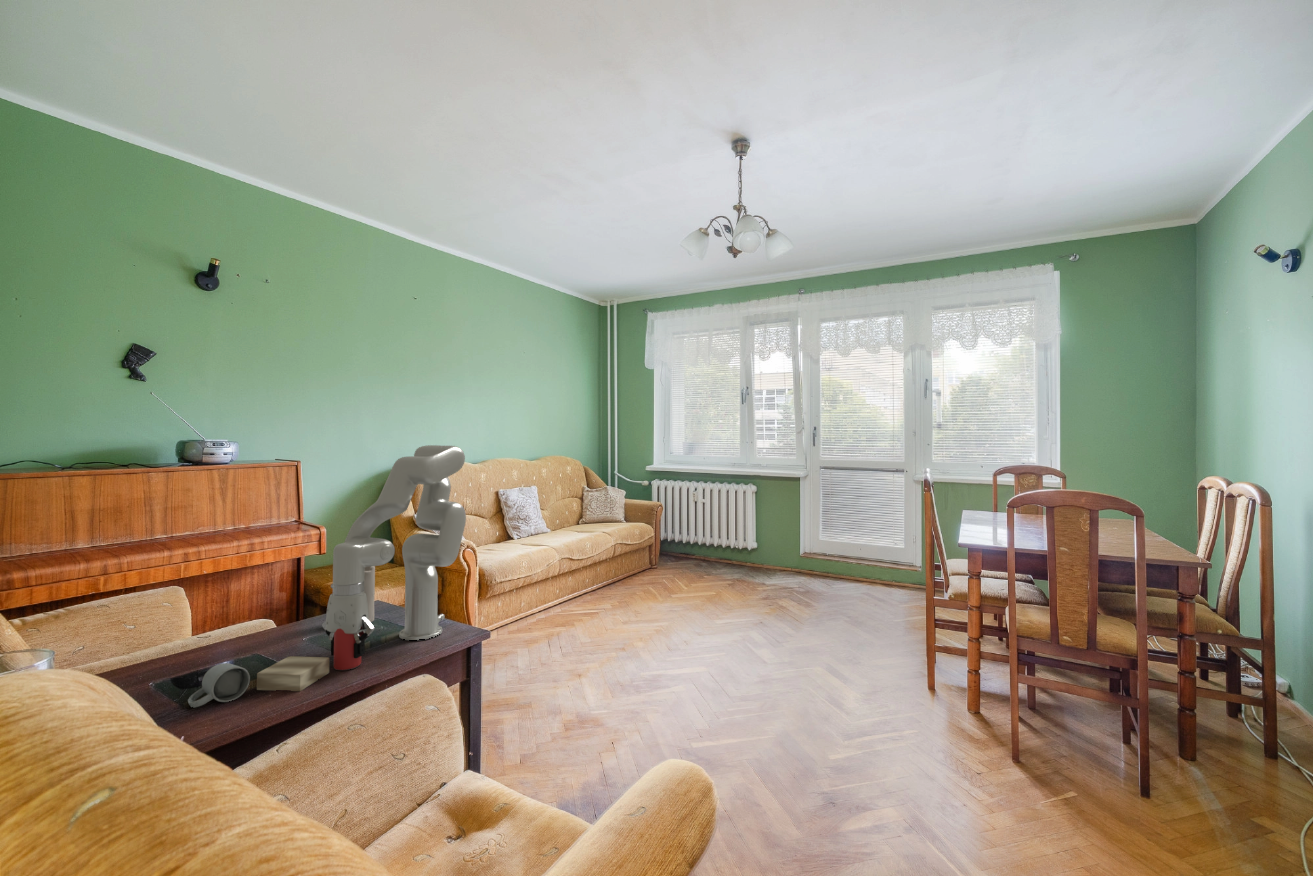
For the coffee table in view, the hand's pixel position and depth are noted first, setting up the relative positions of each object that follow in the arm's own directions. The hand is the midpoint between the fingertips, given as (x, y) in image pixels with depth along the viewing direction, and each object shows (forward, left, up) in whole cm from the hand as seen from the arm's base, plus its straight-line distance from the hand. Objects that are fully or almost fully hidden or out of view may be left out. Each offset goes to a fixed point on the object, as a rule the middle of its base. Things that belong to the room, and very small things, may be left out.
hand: (347, 654), depth 151 cm
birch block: (+11, -6, -3) cm, 13 cm away
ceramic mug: (+23, -15, -4) cm, 28 cm away
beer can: (0, 0, -3) cm, 3 cm away
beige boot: (-30, -24, -3) cm, 39 cm away
